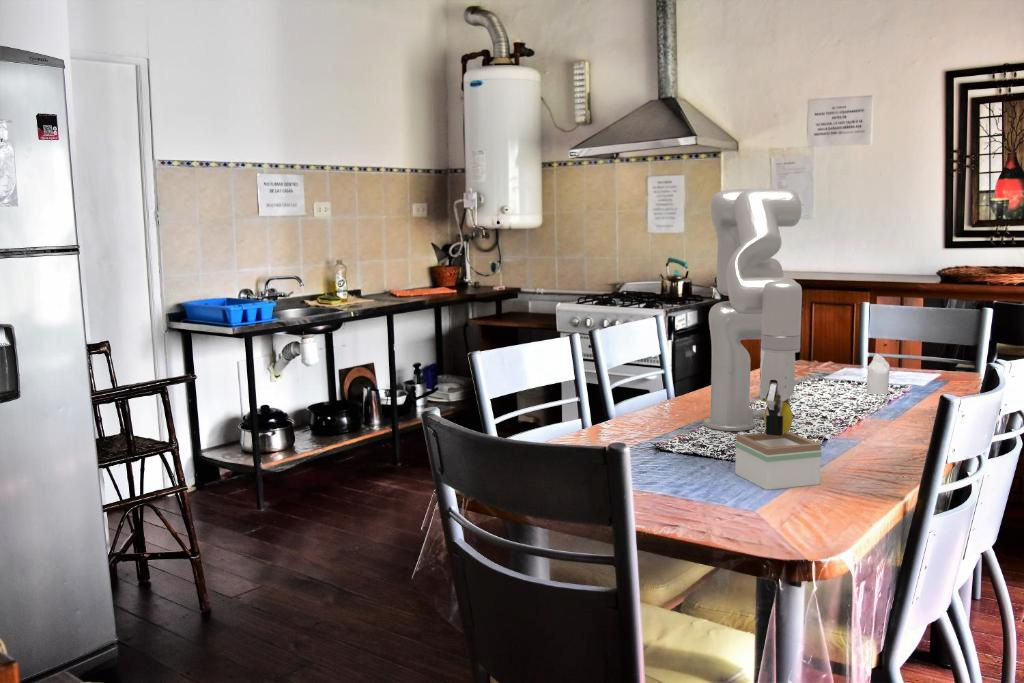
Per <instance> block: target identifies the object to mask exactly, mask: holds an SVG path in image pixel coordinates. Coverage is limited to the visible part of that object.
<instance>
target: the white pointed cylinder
mask: <svg viewBox="0 0 1024 683" xmlns="http://www.w3.org/2000/svg"><path fill="white" fill-rule="evenodd" d="M890 370H891V369H890V364H889V362H888V361H886V359H885V357H883V356H882V355H880V354H879V353H877V354H874V355H873V357H872V359H871V362H870V363H869V364H868V367H867V375H866V376H867V378H866V394H867V393H870V394H888V395H889V387H890V386H889V383H890V382H889V381H890Z"/></svg>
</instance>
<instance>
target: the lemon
mask: <svg viewBox="0 0 1024 683" xmlns="http://www.w3.org/2000/svg"><path fill="white" fill-rule="evenodd" d="M776 400H780V399H776ZM776 405H777V406H779V404H776ZM766 412H767V406H765V414H764V417H763V421H764V425H765V427H766ZM781 416H783V434H784V433H786V432H787V431H789V430H790V429H791V427H792V424H793V411H792V408H791V405H790V406H789V405H788V404H787V403H786V402H783V405H782V415H781ZM776 437H780V436H776Z"/></svg>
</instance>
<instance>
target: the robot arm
mask: <svg viewBox="0 0 1024 683" xmlns="http://www.w3.org/2000/svg"><path fill="white" fill-rule="evenodd" d="M802 210H803V209H802V202H801V199H800V197H799V195H798V193H797V192H796V191H795V190H794V189H790V188H755V189H754V188H753V189H751V188H750V189H743V188H742V189H727V190H725V189H724V190H721V191H719V192H716V193H715V194H714V195H713V196H712V199H711V202H710V214H711V220H712V224H713V227H714V229H715V233H716V237H717V256H716V257H717V258H716V288H717V290H718V292H719V293H720V294H721V295H723V296H728V299H729V300H725V301H720V302H718V303H714V305H712V306H711V308H710V310H709V312H708V325H709V331H710V332H709V333H710V334H709V335H710V341H711V345H710V346H711V371H710V372H711V374H710V377H711V378H710V384H711V385H710V417H707V418H704V420H703V426H705V427H707V428H709V429H713V430H717V431H727V432H742V431H748V430H749V431H750V430H752V429H755V427H756V422H755V419H756V418H764V414H765V410H766V408H765V409H756V408H751V406H750V396H751V356H750V353H749V351H748V350H747V349H746V347H745V346H744V345H743V344H742V343H741V341H743V340H760V351H761V350H762V351H765V352H764V357H763V364H762V375H761V389H760V388H759V398H760V400H765V399H767V398H768V399H767V401H766V407H767V412H766V426H765V433H766V434H767V435H775V436H781V435H782V434H783V416H781V415H782V405H783V402H786V403H787V404H788V405H789V406H790V407H791V397H792V396H793V394H794V392H795V383H796V382H795V381H796V353H800V351H801V330H802V329H801V328H802V306H803V305H802V304H803V303H802V300H803V289H802V286H801V284H800V283H798V282H797V281H796V280H795V279H793V278H791V277H784V271H783V267H782V264H781V263H780V261H779V260H778V259H776V258H773V257H774V256H776V254H778V252H779V251H780V249H781V248H782V244H783V243H782V236H781V234H780V229H779V227H780V228H781V227H783V228H786V227H795V226H796V225H797V224H798V223H799V221H800V220H801V217H802ZM779 398H780V400H776V399H779ZM776 404H779V406H777V405H776Z"/></svg>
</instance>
